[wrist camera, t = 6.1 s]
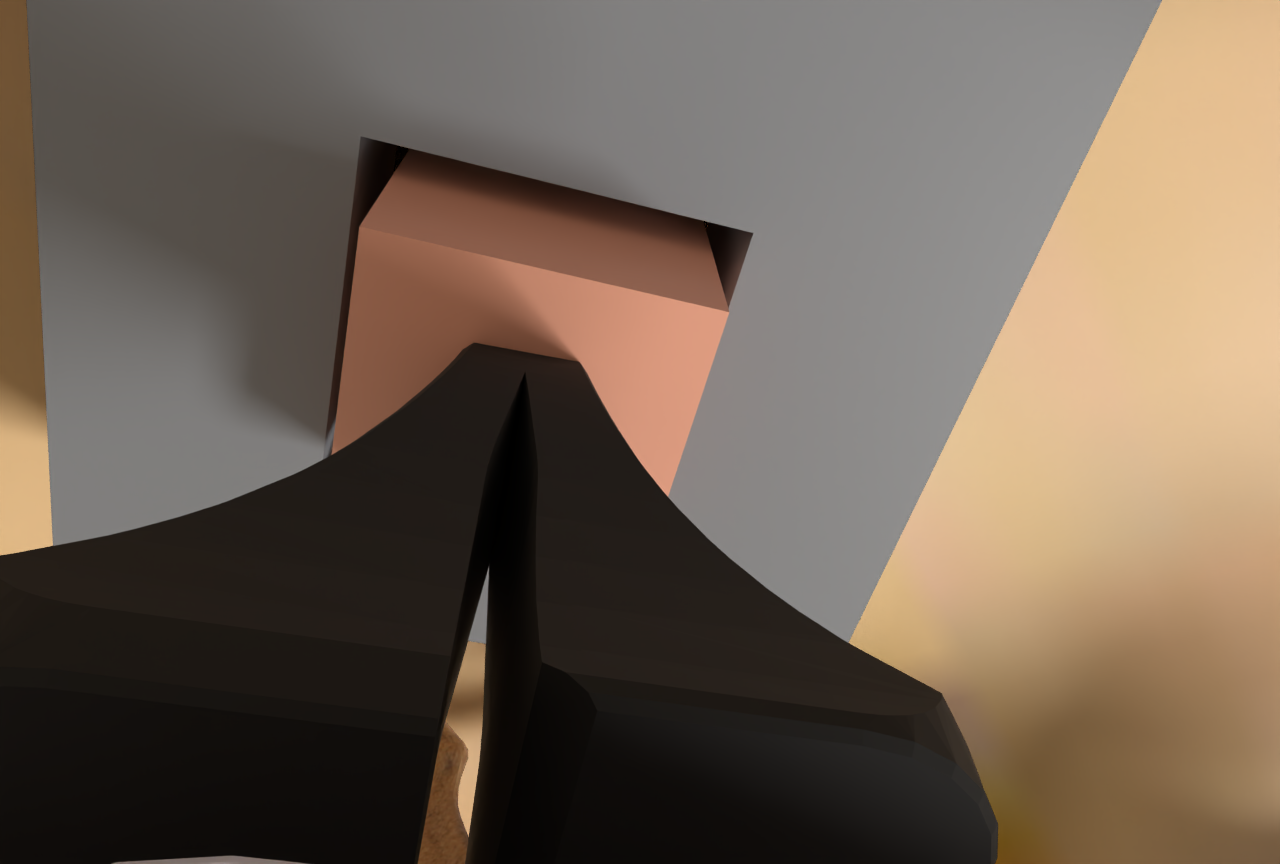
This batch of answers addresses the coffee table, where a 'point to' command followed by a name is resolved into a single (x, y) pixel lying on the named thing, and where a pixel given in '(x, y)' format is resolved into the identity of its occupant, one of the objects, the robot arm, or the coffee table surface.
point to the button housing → (572, 157)
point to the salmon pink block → (531, 297)
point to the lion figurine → (445, 805)
